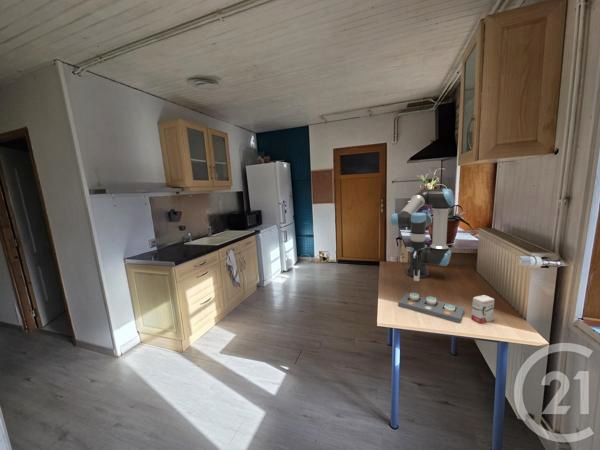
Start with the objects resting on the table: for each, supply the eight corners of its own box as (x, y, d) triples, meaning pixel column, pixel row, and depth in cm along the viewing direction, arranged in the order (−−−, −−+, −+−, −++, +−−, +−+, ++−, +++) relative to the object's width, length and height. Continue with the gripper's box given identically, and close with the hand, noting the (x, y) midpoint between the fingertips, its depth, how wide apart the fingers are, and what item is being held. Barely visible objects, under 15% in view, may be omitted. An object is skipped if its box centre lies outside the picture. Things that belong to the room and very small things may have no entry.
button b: (427, 300, 139) (427, 295, 139) (436, 303, 136) (437, 297, 136) (425, 304, 136) (425, 298, 135) (434, 306, 133) (435, 300, 132)
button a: (411, 296, 145) (411, 291, 145) (419, 298, 142) (419, 293, 142) (408, 299, 142) (408, 294, 141) (417, 302, 139) (417, 296, 138)
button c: (445, 308, 134) (445, 302, 133) (455, 311, 131) (455, 305, 130) (443, 312, 130) (443, 306, 130) (453, 315, 127) (454, 308, 127)
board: (406, 297, 150) (406, 293, 149) (464, 311, 130) (464, 307, 130) (398, 306, 139) (398, 301, 139) (460, 323, 120) (460, 318, 120)
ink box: (480, 324, 119) (482, 301, 117) (470, 319, 123) (472, 297, 122) (493, 320, 121) (495, 298, 119) (483, 315, 126) (485, 294, 124)
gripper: (413, 237, 143) (412, 275, 147) (407, 242, 133) (406, 282, 137) (427, 238, 138) (426, 278, 142) (422, 243, 128) (420, 285, 132)
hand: (416, 280), depth 140 cm, fingers closed
